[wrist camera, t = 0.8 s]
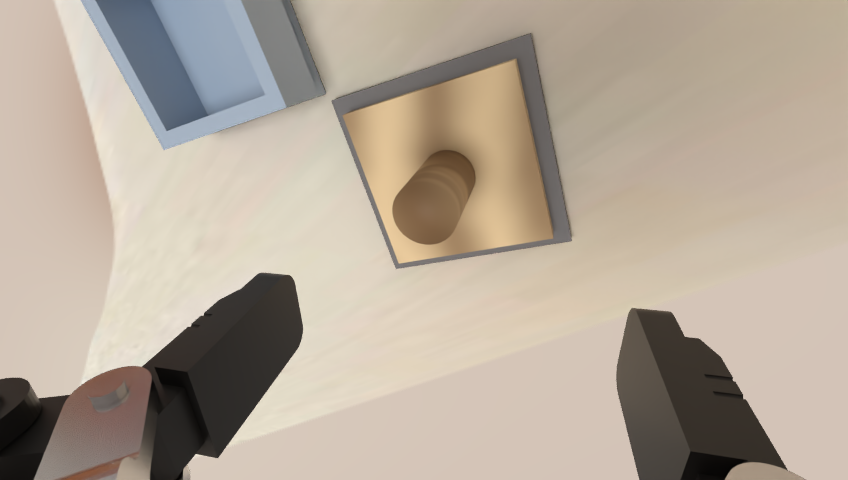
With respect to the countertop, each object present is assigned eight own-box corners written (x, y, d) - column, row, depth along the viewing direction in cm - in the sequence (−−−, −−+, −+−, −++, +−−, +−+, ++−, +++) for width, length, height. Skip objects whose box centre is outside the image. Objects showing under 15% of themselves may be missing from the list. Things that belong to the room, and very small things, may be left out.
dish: (259, -79, 25) (198, -99, 20) (326, 93, 28) (286, 107, 24) (142, -14, 28) (70, -19, 24) (215, 132, 32) (163, 150, 28)
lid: (516, 58, 24) (504, 72, 18) (553, 230, 28) (554, 290, 22) (349, 111, 28) (293, 138, 22) (403, 255, 32) (368, 312, 26)
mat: (530, 33, 24) (530, 33, 23) (571, 237, 29) (571, 241, 28) (335, 99, 28) (331, 100, 28) (398, 264, 33) (396, 268, 33)
